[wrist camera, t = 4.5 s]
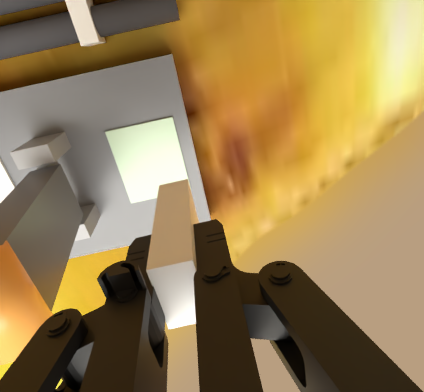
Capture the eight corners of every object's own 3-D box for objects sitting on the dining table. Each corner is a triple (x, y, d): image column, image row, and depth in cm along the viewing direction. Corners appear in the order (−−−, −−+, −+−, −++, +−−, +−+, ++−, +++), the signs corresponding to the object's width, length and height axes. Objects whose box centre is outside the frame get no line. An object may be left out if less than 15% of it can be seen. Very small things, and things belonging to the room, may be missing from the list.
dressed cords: (-124, 93, 21) (-152, 97, 19) (-176, 15, 19) (-214, 12, 17) (180, 25, 21) (180, 23, 19) (162, -60, 19) (160, -71, 17)
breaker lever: (55, 215, 23) (-26, 374, 11) (30, 167, 21) (-95, 297, 9) (89, 205, 23) (45, 351, 12) (68, 157, 21) (-10, 272, 10)
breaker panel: (2, 261, 28) (-33, 303, 23) (-95, 113, 22) (-170, 130, 17) (210, 215, 28) (216, 248, 23) (172, 53, 22) (170, 54, 17)
